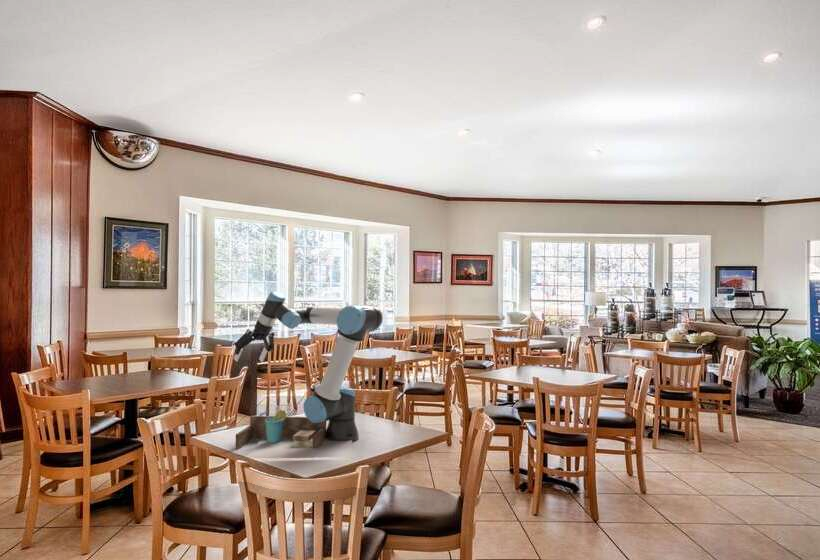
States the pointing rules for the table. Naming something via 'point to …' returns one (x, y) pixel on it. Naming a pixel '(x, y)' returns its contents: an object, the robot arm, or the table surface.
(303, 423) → the tray
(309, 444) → the offcut middle
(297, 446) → the offcut bottom
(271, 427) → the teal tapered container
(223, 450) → the table surface
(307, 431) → the offcut top
